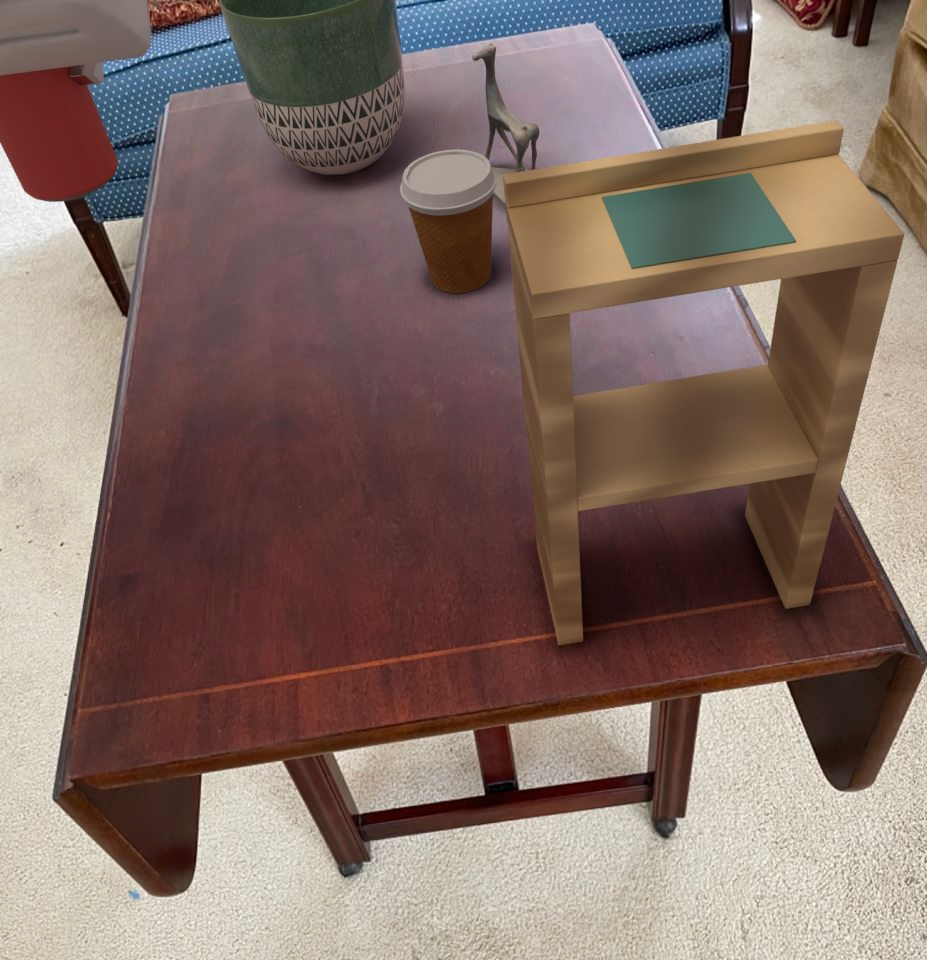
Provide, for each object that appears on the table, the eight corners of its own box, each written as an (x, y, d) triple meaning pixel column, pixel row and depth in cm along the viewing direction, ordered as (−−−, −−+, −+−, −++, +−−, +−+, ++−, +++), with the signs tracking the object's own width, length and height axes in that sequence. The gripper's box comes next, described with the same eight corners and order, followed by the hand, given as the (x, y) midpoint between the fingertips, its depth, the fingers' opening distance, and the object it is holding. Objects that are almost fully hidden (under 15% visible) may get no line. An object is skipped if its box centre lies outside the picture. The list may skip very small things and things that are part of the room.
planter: (429, 121, 125) (402, -56, 109) (410, 198, 111) (377, 9, 96) (288, 131, 127) (243, -40, 112) (253, 207, 114) (197, 25, 99)
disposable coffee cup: (424, 311, 96) (405, 205, 87) (410, 261, 102) (391, 158, 94) (515, 291, 96) (505, 184, 87) (495, 243, 103) (484, 139, 94)
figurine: (556, 198, 108) (550, 67, 97) (502, 211, 107) (490, 81, 96) (527, 156, 115) (518, 30, 104) (476, 168, 114) (462, 42, 104)
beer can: (107, 201, 62) (25, 12, 54) (13, 211, 63) (-83, 26, 54) (132, 153, 67) (60, -28, 58) (44, 163, 68) (-40, -15, 59)
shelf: (558, 645, 66) (529, 267, 44) (537, 548, 73) (502, 174, 50) (810, 605, 66) (912, 205, 44) (767, 511, 72) (837, 119, 50)
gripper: (82, -124, 46) (184, 10, 60) (-308, -66, 48) (-120, 51, 61) (95, 5, 46) (194, 109, 60) (-294, 59, 48) (-110, 148, 61)
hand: (33, 80), depth 61 cm, fingers closed on beer can, 6 cm apart
